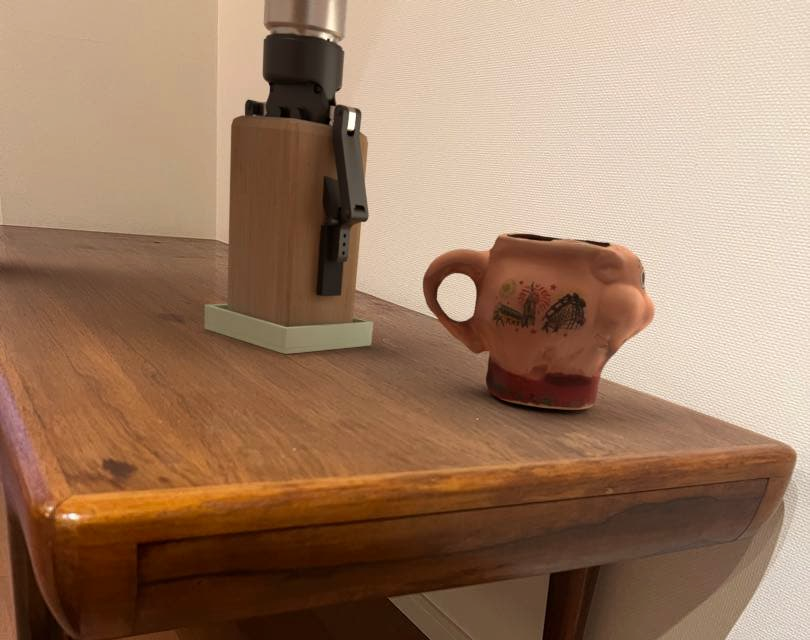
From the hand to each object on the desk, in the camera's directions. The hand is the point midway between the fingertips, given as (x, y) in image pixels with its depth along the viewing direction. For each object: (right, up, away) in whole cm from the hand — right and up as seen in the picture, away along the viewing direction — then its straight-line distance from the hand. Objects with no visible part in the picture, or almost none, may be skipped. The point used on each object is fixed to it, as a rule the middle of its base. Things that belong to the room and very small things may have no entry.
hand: (291, 286), depth 82 cm
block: (-1, -5, +2) cm, 5 cm away
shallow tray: (-1, -5, +2) cm, 5 cm away
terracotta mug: (+22, -14, -11) cm, 29 cm away
